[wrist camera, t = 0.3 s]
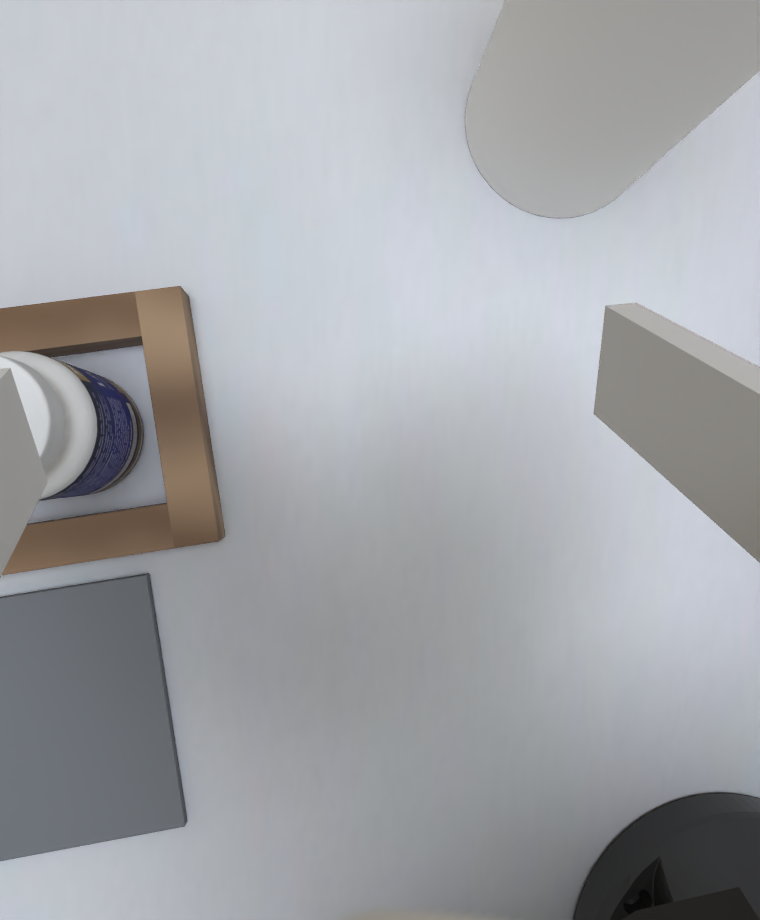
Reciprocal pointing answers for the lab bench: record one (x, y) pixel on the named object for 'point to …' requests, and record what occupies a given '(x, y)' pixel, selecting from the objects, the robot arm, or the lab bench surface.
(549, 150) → the cylinder container
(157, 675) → the rubber mat
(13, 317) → the wooden square frame
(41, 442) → the pill bottle
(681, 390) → the robot arm
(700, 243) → the lab bench surface
